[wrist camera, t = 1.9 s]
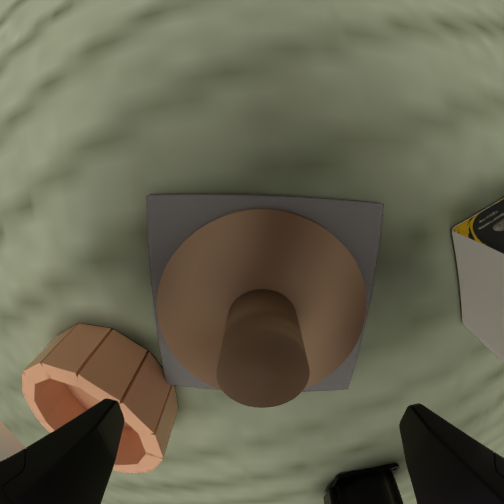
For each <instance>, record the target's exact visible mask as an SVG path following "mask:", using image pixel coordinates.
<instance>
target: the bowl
mask: <svg viewBox="0 0 504 504" xmlns="http://www.w3.org/2000/svg"><path fill="white" fill-rule="evenodd" d="M146 352H147V350H146V349H145V348H143V347H141V346H140V345H138V344H136V343H135V342H133V341H131V340H130V339H128V338H126V337H125V336H123V335H122V334H120V333H118V332H117V331H115V330H114V329H113V330H111V328H106V327H99V326H93V325H87V324H81V323H79V324H76V325H74V326H73V327H71V328H69V329H67V330H66V331H64V332H62V333H61V334H59V335H58V336H57V337H56V338H55V339H54V340H53V341H52V342H51V343H50V344H49V345H48V346H47V347H46V348H45V349H44V350H43V351H42V352H41V353H40V354H39V355H38V356H37V357H36V358H35V359H34V360H33V361H32V362H31V363H30V364H29V365H28V366H27V367H26V368H25V370H24V371H23V372H22V386H23V393H24V394H23V395H24V397H25V399H26V400H27V402H28V404H29V406H30V408H31V410H32V411H33V413H34V415H35V416H36V418H37V419H38V421H39V422H40V423H41V424H42V425H43V426H44V427H45V428H46V429H47V430H48V431H49V432H50V433H51V432H53V431H55V430H56V429H58V428H59V427H61V426H63V425H64V424H66V423H67V422H69V421H71V420H72V419H74V418H75V417H77V416H78V415H80V414H82V413H83V412H85V411H86V410H88V409H89V408H91V407H92V406H94V405H95V404H97V403H99V402H100V401H102V400H103V399H105V398H108V399H113V400H116V401H118V403H119V405H120V408H121V410H122V413H123V416H124V427H123V431H122V435H121V439H120V443H119V448H118V452H117V456H116V460H115V464H114V467H113V470H116V471H120V472H123V473H124V472H125V473H139V472H150V471H152V470H153V469H154V468H155V467H156V466H157V465H158V464H159V463H160V462H161V461H162V460H163V458H164V454H165V451H166V448H167V444H168V441H169V437H170V434H171V431H172V427H173V424H174V421H175V417H176V414H177V411H178V403H177V397H176V392H175V386H174V385H169V384H168V383H167V382H166V380H165V375H164V369H163V368H162V367H161V366H160V364H159V363H158V362H157V361H156V359H155V358H154V357H153V356H152V354H151V353H150V352H149V353H146Z"/></svg>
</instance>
